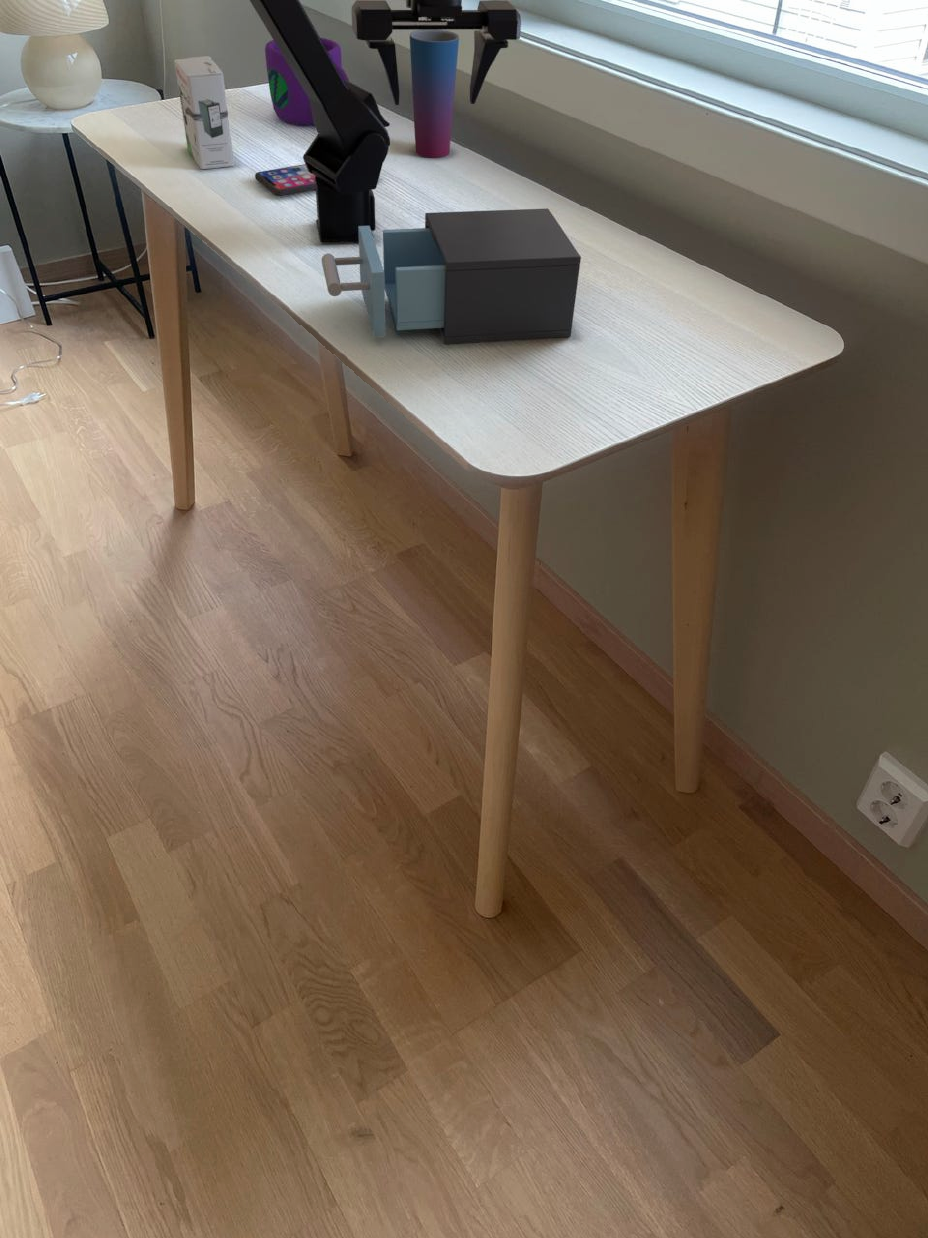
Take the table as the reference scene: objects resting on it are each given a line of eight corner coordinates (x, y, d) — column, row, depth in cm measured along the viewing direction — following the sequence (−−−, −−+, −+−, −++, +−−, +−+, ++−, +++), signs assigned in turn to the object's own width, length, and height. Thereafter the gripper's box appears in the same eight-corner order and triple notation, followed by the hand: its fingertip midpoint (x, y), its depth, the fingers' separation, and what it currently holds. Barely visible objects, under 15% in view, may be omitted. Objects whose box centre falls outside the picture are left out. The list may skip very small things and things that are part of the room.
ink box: (186, 149, 133) (171, 56, 125) (220, 146, 135) (208, 54, 126) (200, 170, 128) (186, 74, 119) (236, 166, 129) (224, 71, 121)
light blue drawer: (332, 340, 93) (328, 274, 88) (322, 289, 101) (318, 227, 96) (493, 330, 96) (497, 266, 91) (471, 282, 104) (474, 221, 99)
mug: (257, 113, 146) (249, 41, 139) (315, 101, 152) (311, 31, 145) (322, 144, 137) (318, 68, 130) (382, 130, 143) (381, 56, 136)
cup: (421, 162, 133) (422, 43, 123) (402, 147, 138) (401, 30, 127) (463, 156, 136) (467, 39, 125) (443, 142, 140) (445, 27, 130)
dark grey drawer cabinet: (444, 344, 95) (446, 262, 89) (424, 290, 104) (425, 212, 98) (570, 336, 98) (581, 256, 92) (540, 284, 106) (548, 207, 100)
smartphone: (377, 173, 127) (276, 191, 121) (377, 180, 128) (277, 198, 121) (351, 155, 131) (252, 171, 125) (351, 162, 132) (253, 179, 126)
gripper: (504, -68, 107) (495, 83, 118) (343, -70, 104) (349, 84, 115) (527, -49, 99) (515, 110, 110) (354, -52, 96) (360, 112, 107)
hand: (434, 103), depth 111 cm, fingers open, 9 cm apart
